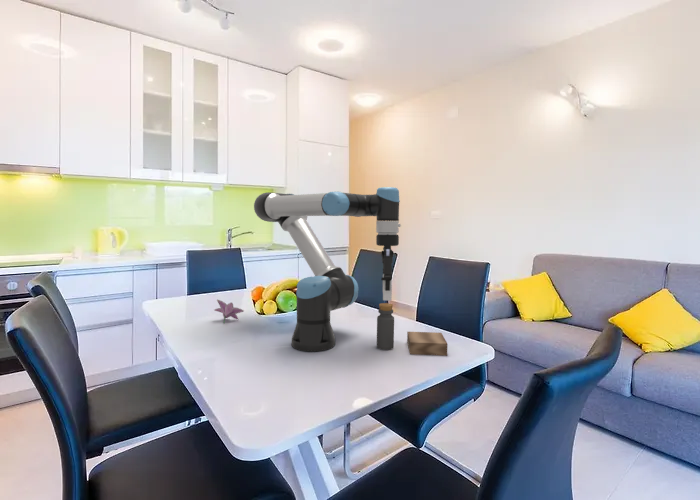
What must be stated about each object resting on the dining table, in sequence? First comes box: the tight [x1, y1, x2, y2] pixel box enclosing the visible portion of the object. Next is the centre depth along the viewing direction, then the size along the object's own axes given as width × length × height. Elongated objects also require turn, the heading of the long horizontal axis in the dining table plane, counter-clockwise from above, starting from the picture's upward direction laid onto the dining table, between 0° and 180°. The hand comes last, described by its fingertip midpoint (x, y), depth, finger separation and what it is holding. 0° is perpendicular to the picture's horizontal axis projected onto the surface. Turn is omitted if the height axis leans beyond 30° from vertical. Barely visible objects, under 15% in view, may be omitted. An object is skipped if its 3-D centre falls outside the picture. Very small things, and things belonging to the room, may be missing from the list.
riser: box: [406, 331, 448, 356], centre depth 128 cm, size 12×12×4 cm
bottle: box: [376, 302, 395, 351], centre depth 128 cm, size 6×6×15 cm
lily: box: [214, 299, 245, 323], centre depth 158 cm, size 12×12×10 cm
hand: (386, 296), depth 127 cm, fingers open, 13 cm apart
